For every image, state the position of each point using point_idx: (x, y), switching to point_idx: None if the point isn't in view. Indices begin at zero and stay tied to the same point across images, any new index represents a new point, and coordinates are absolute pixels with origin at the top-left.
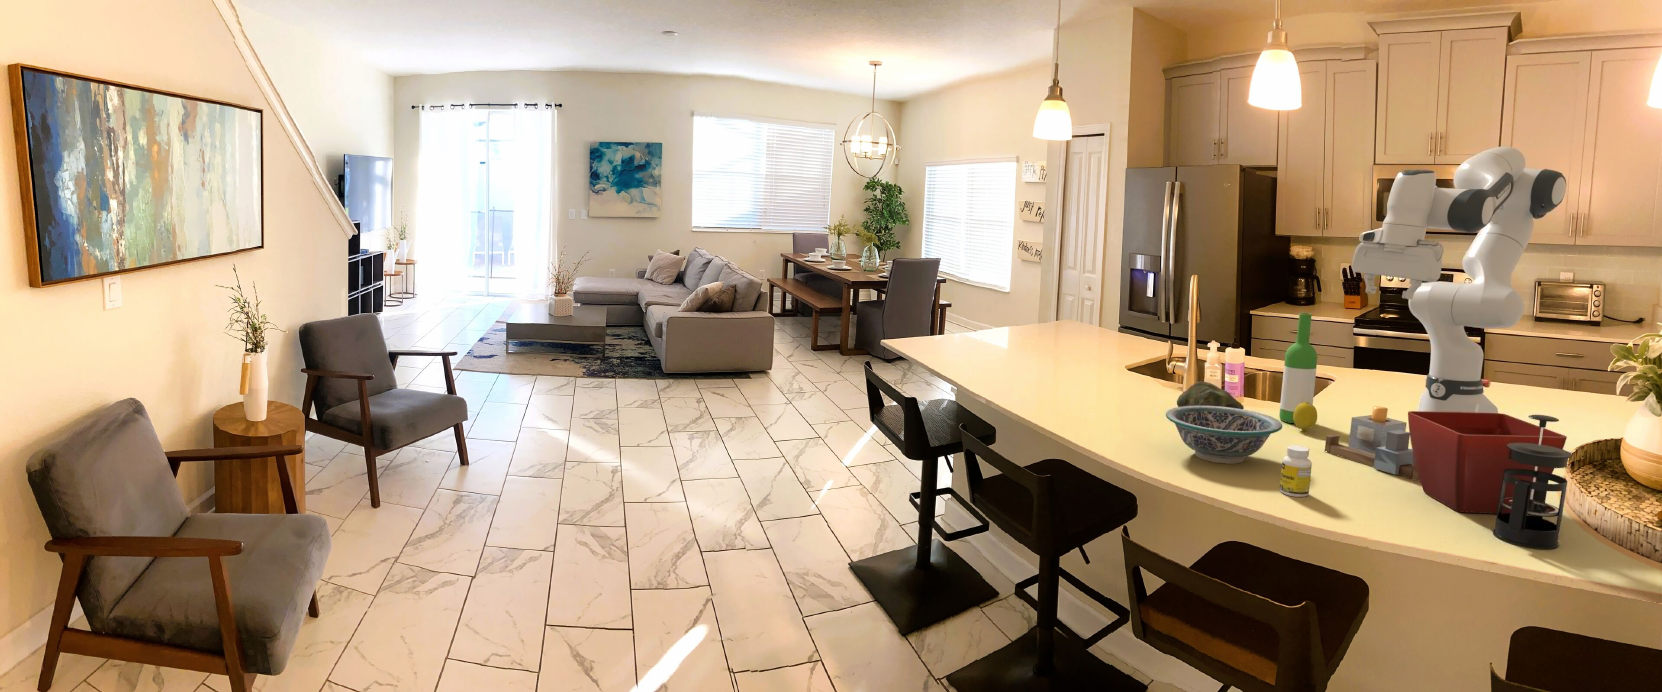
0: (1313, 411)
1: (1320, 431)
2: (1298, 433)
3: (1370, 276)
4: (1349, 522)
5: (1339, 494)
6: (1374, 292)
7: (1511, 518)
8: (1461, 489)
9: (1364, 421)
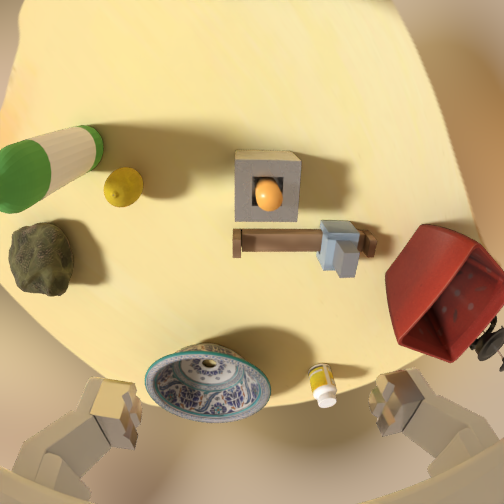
0: (134, 190)
1: (141, 154)
2: (142, 199)
3: (85, 498)
4: (374, 372)
5: (342, 344)
6: (132, 392)
7: None
8: (431, 315)
9: (261, 220)
